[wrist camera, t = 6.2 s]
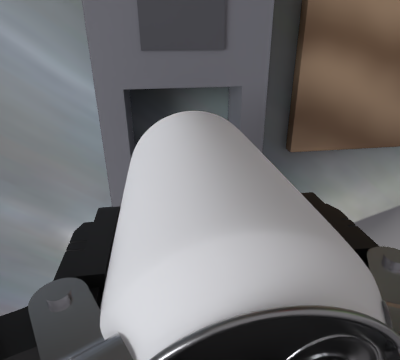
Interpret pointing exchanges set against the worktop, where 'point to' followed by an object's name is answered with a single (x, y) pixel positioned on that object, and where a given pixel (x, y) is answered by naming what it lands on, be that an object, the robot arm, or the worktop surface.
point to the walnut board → (346, 76)
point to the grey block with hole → (175, 63)
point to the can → (231, 258)
